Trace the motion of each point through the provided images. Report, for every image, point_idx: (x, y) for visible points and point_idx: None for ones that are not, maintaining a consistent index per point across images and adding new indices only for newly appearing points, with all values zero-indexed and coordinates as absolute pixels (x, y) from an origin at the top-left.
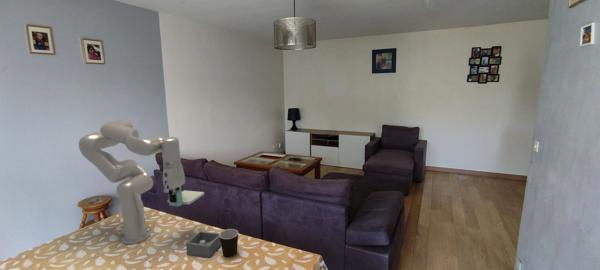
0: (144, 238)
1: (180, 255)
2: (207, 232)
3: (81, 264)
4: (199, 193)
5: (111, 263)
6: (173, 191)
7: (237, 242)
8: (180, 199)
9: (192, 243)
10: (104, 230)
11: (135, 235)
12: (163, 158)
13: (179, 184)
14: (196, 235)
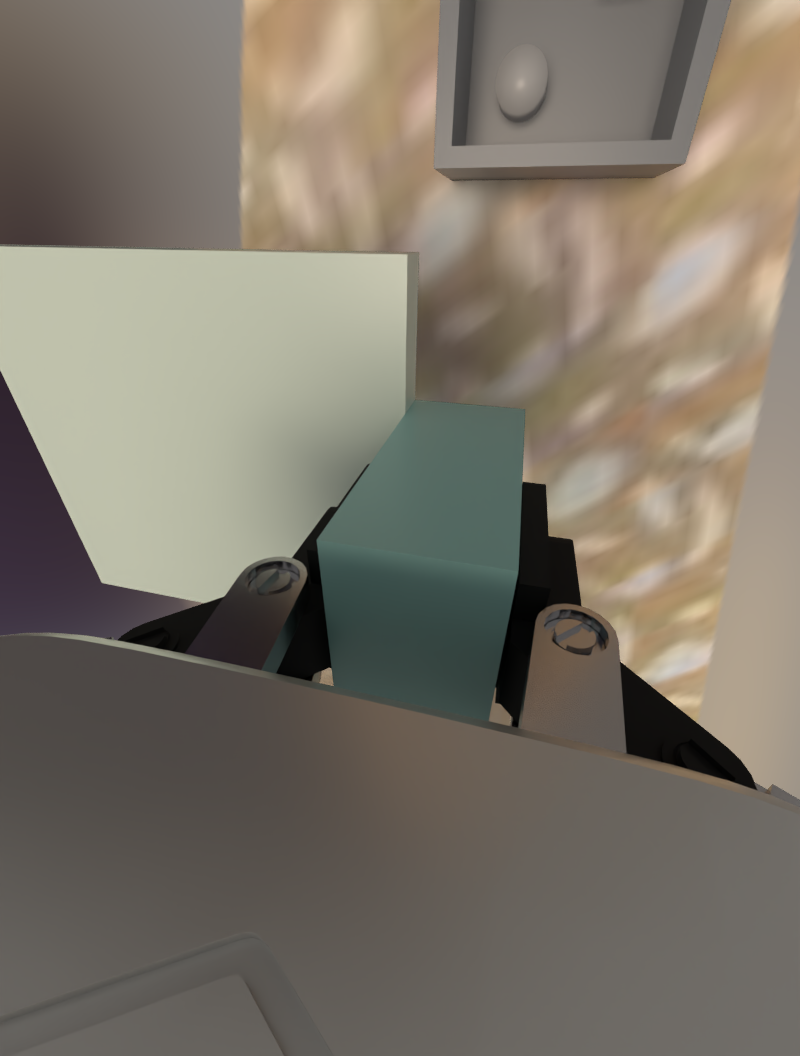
0: None
1: (657, 238)
2: (449, 29)
3: (699, 710)
4: (27, 304)
5: (709, 611)
6: (588, 695)
7: None
8: (445, 443)
9: (704, 58)
10: None
11: None
12: None
13: (302, 780)
14: (522, 144)
